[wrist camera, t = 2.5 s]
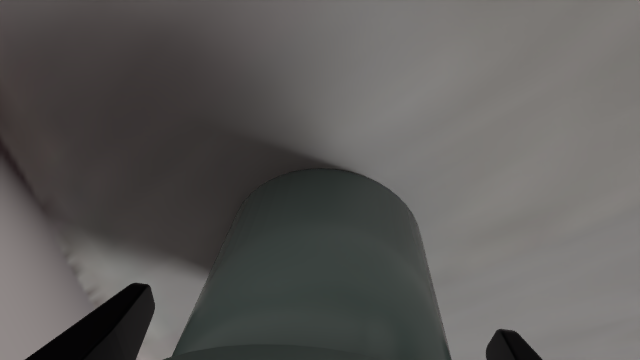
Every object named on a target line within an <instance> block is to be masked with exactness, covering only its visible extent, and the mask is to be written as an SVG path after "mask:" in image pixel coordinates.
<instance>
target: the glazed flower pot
mask: <svg viewBox="0 0 640 360" xmlns="http://www.w3.org/2000/svg"><path fill="white" fill-rule="evenodd" d="M164 360H452V359H451V355H450V351H449V347H448V343H447V339H446V335H445V331H444V327H443V323H442V319H441V315H440V311H439V307H438V303H437V299H436V295H435V291H434V287H433V283H432V279H431V275H430V271H429V267H428V263H427V258H426V254H425V250H424V246H423V242H422V238H421V234H420V231H419V227H418V224H417V222H416V220H415V218H414V216H413V214H412V212H411V211H410V210H409V208H408V207H407V205H406V204H405V203H404V202H403V201H402V200H401V199H400V198H399V197H398V196H397V195H396V194H394V193H393V192H392V191H391V190H389V189H388V188H386V187H385V186H383V185H381V184H380V183H378V182H376V181H374V180H372V179H369V178H367V177H365V176H362V175H358V174H355V173H352V172H347V171H342V170H336V169H306V170H300V171H294V172H291V173H288V174H284V175H281V176H279V177H276V178H274V179H272V180H270V181H268V182H266V183H265V184H263V185H262V186H260V187H259V188H257V189H256V190H255V191H254V192H253V193H251V194H250V195H249V197H248V198H247V199H246V200H245V201H244V202H243V204H242V206H241V207H240V209H239V210H238V213H237V215H236V217H235V219H234V221H233V224H232V226H231V228H230V230H229V232H228V234H227V237H226V239H225V241H224V243H223V245H222V248H221V250H220V252H219V254H218V256H217V258H216V261H215V263H214V265H213V267H212V269H211V272H210V274H209V276H208V278H207V280H206V283H205V285H204V287H203V289H202V291H201V293H200V296H199V298H198V300H197V302H196V304H195V307H194V309H193V311H192V313H191V315H190V317H189V320H188V322H187V324H186V326H185V328H184V331H183V333H182V335H181V337H180V339H179V342H178V344H177V346H176V348H175V350H174V352H173V355H172V357H170V358H166V359H164Z"/></svg>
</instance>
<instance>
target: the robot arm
mask: <svg viewBox="0 0 640 360" xmlns="http://www.w3.org/2000/svg"><path fill="white" fill-rule="evenodd" d="M154 310H155V303H154V299H153V295H152V291H151V287H150V286H149V285H148V284H142V283H132V284H130V285H129V286H127V287H126V288H124V289H123V290H122V291H120V292H119V293H117V294H116V295H115V296H113V297H112V298H110V299H109V300H108V301H106V302H105V303H103V304H102V305H101V306H99V307H98V308H96V309H95V310H94V311H92V312H91V313H89V314H88V315H87V316H85V317H84V318H82V319H81V320H80V321H79V322H77V323H76V324H74V325H73V326H71V327H70V328H69V329H67V330H66V331H64V332H63V333H62V334H60V335H59V336H57V337H56V338H55V339H53V340H52V341H50V342H49V343H48V344H46V345H45V346H43V347H42V348H41V349H39V350H38V351H36V352H35V353H34V354H32V355H31V356H30V357H28V358H27V359H25V360H136V357H137V355H138V352H139V350H140V347H141V345H142V342H143V340H144V337H145V334H146V332H147V329H148V327H149V324H150V322H151V319H152V316H153V314H154ZM486 359H487V360H542V359H541V357H540V356H539V355H538V354H537V353H536V352H535V351H534V350H533V349H532V348H531V347H530V346H529V345H528V344H527V342H526V341H525V340H524V339H523V338H522V337H521V336H520V335H519V334H518V333H517V332H515V331H512V330H505V329H499V330H497V331H496V332H495V334H494V336H493V337H492V339H491V341H490V342H489V344H488V346H487V349H486Z"/></svg>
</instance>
